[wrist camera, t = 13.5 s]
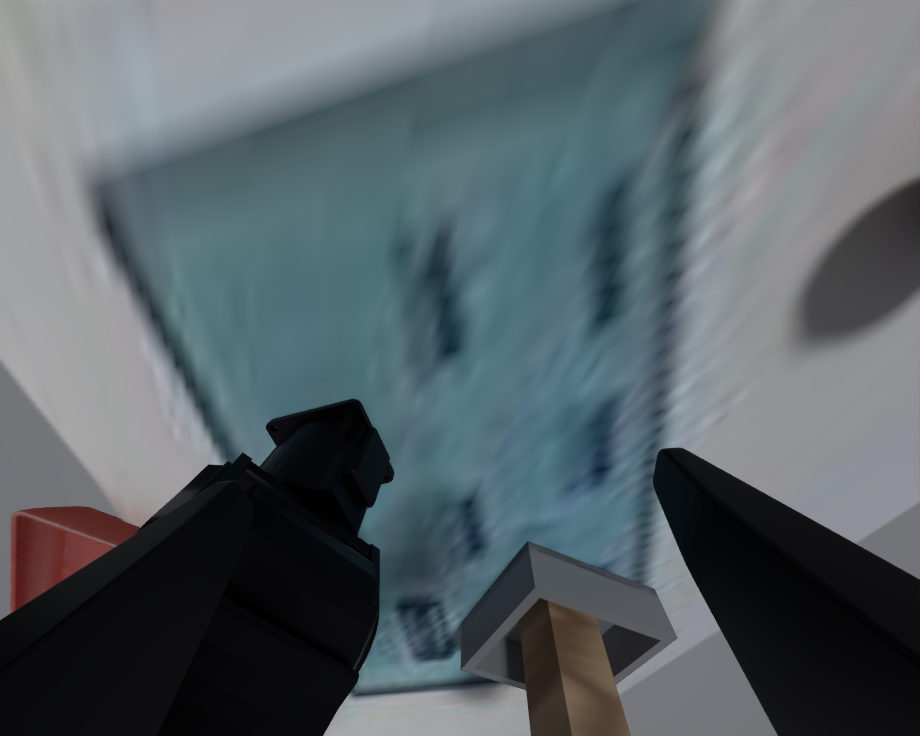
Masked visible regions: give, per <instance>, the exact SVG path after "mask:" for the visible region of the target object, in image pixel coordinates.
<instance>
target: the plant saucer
mask: <svg viewBox="0 0 920 736" xmlns="http://www.w3.org/2000/svg"><path fill="white" fill-rule="evenodd" d="M139 529H140V527H137V526H134V525H132V524H129V523H126V522H124V521H123V519H121V518H118V517H116V516H113V515H110V514H107V513H104V512H102V511H99V510H96V509H93V508H90V507H79V506H78V507H77V506H76V507H45V508H34V509H27V510H21V511H17V512H14V513H13V514H12V515H11V530H10V533H11V534H10V536H11V560H10V562H11V582H10V583H11V587H10V589H11V593H10V595H11V596H10V599H11V601H10V608H11V613H12V612H14V611H15V610H17V609H19V608H20V607H22V606H23V605H25V604H26V603H28V602H30V601H31V600H33V599H34V598H36V597H37V596H39V595H41V594H42V593H44V592H45V591H47V590H48V589H50V588H51V587H53V586H55V585H56V584H58V583H59V582H61V581H62V580H64V579H66V578H67V577H69V576H70V575H72V574H73V573H75V572H77V571H78V570H80V569H81V568H83V567H84V566H86V565H88V564H89V563H91V562H92V561H94V560H95V559H97V558H99V557H100V556H102V555H103V554H105V553H106V552H108V551H110V550H111V549H113V548H114V547H116V546H117V545H119V544H121V543H122V542H124V541H125V540H127V539H128V538H130V537H132V536H133V535H135V534H136V532H137V531H138V530H139Z"/></svg>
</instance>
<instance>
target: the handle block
mask: <svg viewBox="0 0 920 736" xmlns="http://www.w3.org/2000/svg"><path fill="white" fill-rule="evenodd" d="M519 625H520V635H521V644H522V654H523V663H524V673H525V682H526V692H527V701H528V711H529V720H530V730H531V736H631V735H630V732H629V729H628V725H627V722H626V718H625V715H624V711H623V708H622V705H621V701H620V698H619V694H618V691H617V687H616V684H615V681H614V677H613V674H612V670H611V667H610V664H609V660H608V657H607V653H606V650H605V647H604V643H603V640H602V636H601V633H600V630H599V626H598V623H597V619H596V618H595V617H593V616H590V615H587V614H584V613H581V612H578V611H576V610H573V609H570V608H567V607H564V606H561V605H559V604H556V603H553V602H550V601H547V600H544V599H542V598H539V599H538V600H537V602H536V603H535V604H534V605H533V606H532V607H531V608H530V609H529V610H528V611H527V613H526V614H525V615H524V616H523V617H522V618H521V619H520V620H519Z"/></svg>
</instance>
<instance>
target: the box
mask: <svg viewBox="0 0 920 736" xmlns="http://www.w3.org/2000/svg"><path fill="white" fill-rule="evenodd" d="M539 598H542V599H544V600H547V601H550V602H553V603H556V604H559V605H561V606H564V607H567V608H570V609H573V610H576V611H578V612H581V613H584V614H587V615H590V616H593V617H595V618H596V619H597V623H598V626H599V630H600V633H601V636H602V640H603V643H604V647H605V650H606V653H607V657H608V660H609V664H610V667H611V670H612V674H613V677H614V681H615V684H618V683H619V682H620V681H622V680H623V679H624V678H626V677H627V676H628V675H630V674H631V673H632V672H634V671H635V670H636V669H638V668H639V667H640V666H642V665H643V664H644V663H646V662H647V661H648V660H649V659H651V658H652V657H653V656H655V655H656V654H657V653H659V652H660V651H661V650H663V649H664V648H665V647H667V646H668V645H669V644H671V643H672V642H673V641H675V640H676V639H677V636H676V634H675V632H674V629H673V627H672V625H671V623H670V621H669V619H668V617H667V615H666V612H665V610H664V608H663V606H662V604H661V602H660V600H659V598H658V595H657V593H656V591H655V589H653V588H650V587H647V586H645V585H642V584H639V583H637V582H634V581H631V580H629V579H626V578H623V577H621V576H618V575H616V574H613V573H610V572H608V571H605V570H602V569H600V568H597V567H594V566H592V565H589V564H586V563H584V562H581V561H578V560H576V559H573V558H571V557H568V556H565V555H563V554H560V553H557V552H555V551H552V550H549V549H547V548H544V547H541V546H539V545H536V544H533V543H531V542H527V543H526V545H525V546H524V547H523V548H522V549H521V551H520V552H519V553H518V554H517V556H516V557H515V558H514V559H513V561H512V562H511V563H510V564H509V565H508V567H507V568H506V569H505V570H504V572H503V573H502V574H501V575H500V577H499V578H498V579H497V580H496V581H495V583H494V584H493V585H492V586H491V588H490V589H489V590H488V591H487V593H486V594H485V595H484V596H483V597H482V599H481V600H480V601H479V602H478V604H477V605H476V606H475V607H474V608H473V610H472V611H471V612H470V613H469V615H468V616H467V617H466V618H465V620H464V621H463V622H462V643H461V670H462V671H465V672H469V673H472V674H475V675H478V676H482V677H485V678H488V679H491V680H495V681H498V682H501V683H504V684H508V685H511V686H514V687H517V688H521V689H524V690H526V682H525V673H524V663H523V654H522V644H521V635H520V625H519V620H520V619H521V618H522V617H523V616H524V615H525V614H526V613H527V611H528V610H529V609H530V608H531V607H532V606H533V605H534V604H535V603H536V602H537V600H538V599H539Z"/></svg>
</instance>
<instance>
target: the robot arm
mask: <svg viewBox="0 0 920 736" xmlns="http://www.w3.org/2000/svg"><path fill="white" fill-rule="evenodd" d="M351 406H355V407H356V409H352V408H351ZM274 426H276V427H277V428H278V429H277V428H275V427H274ZM266 429H267V431H268V433H269V435H270V436H271V438H272V439H273V441H274V443H275V444H276V448H275V449H274V450H273V451H272V452H271V454H270V455H269V456H268V457H267V458H266V460H265V461H264V462H263V463H262V464H261V466H260V467H259V466H257V465H256V464H254V463H253V462H252V461H251V460H252V459H251V458H250V457H249V456H247V455H246V454H244V453H242V454H241V455H240V456H239V457H238V458H237V459H236V460H235V461H234V462H233V463H231V462H229V461H227V462H226V463H225V464H224V465H208V466H206V467H205V468H204V469H203V470H202V471H201V472H200V473H199V474H198V475H197V476H196V477H195V478H194V479H193V480H192V481H191V482H190V483H189V484H188V485H187V486H186V487H185V488H183V489H182V490H181V491H180V492H179V493H178V494H177V495H176V496H175V497H174V498H172V499H171V500H170V501H169V502H168V503H167V504H166V505H165V506H163V507H162V508H161V509H160V510H159V511H158V512H157V513H156V514H154V515H153V516H152V517H151V518H150V519H149V520H148V521H147V522H146V523H145V524H144V525H143V526H142V527H141V528H140V529H139V530H138V531H137V532H136V534H135V535H133V536H132V537H130V538H128V539H127V540H125V541H124V542H122V543H121V544H119V545H117V546H116V547H114V548H113V549H111V550H110V551H108V552H106V553H105V554H103V555H102V556H100V557H99V558H97V559H95V560H94V561H92V562H91V563H89V564H88V565H86V566H84V567H83V568H81V569H80V570H78V571H77V572H75V573H73V574H72V575H70V576H69V577H67V578H66V579H64V580H62V581H61V582H59V583H58V584H56V585H55V586H53V587H51V588H50V589H48V590H47V591H45V592H44V593H42V594H41V595H39V596H37V597H36V598H34V599H33V600H31V601H30V602H28V603H26V604H25V605H23V606H22V607H20V608H19V609H17V610H15V611H14V612H12V613H11V614H9V615H8V616H6V617H4V618H3V619H1V620H0V736H323V735H324V733H325V731H326V730H327V728H328V726H329V724H330V722H331V721H332V719H333V717H334V715H335V714H336V712H337V710H338V708H339V707H340V706H341V704H342V703H343V701H344V700H345V699H346V697H347V696H348V694H349V693H350V692H351V690H352V689H353V687H354V686H355V685H356V683H357V681H358V678H359V673H358V672H359V670H360V668H361V667H362V665H363V663H364V662H365V660H366V657H367V655H368V653H369V651H370V649H371V646H372V643H373V640H374V638H375V635H376V631H377V626H378V621H379V582H380V549H378V548H377V547H375V546H374V545H373V544H370V545H369V544H368V543H366V542H365V541H363V540H362V539H361V538H359V537H358V536H357V535H358V532H359V529H360V526H361V524H362V521H363V518H364V515H365V513H366V510H367V508H371V507H372V506H373V505H374V503H375V501H376V498H377V495H378V492H379V489H380V486H381V484H384V483H389V482H391V481H392V480H393V477H394V470H393V468H392V466H391V464H390V462H389V460H390V457H389V455H388V453H387V451H386V449H385V446H384V444H383V442H382V440H381V438H380V436H379V434H378V432H377V430H376V428H374V427H373V426H372V424H371V422H370V420H369V418H368V416H367V414H366V412H365V410H364V408H363V406H362V404H361V402H360V401H358V400H356V399H350V400H346V401H342V402H338V403H334V404H330V405H326V406H322V407H318V408H314V409H310V410H307V411H303V412H299V413H295V414H291V415H287V416H283V417H279V418H275V419H272V420H271V421H270V422H269V423H268V424H267V425H266ZM384 474H387V475H389V476H386V475H384ZM653 486H654V489H655V492H656V494H657V497H658V499H659V502H660V504H661V506H662V509H663V511H664V514H665V516H666V518H667V521H668V523H669V526H670V528H671V530H672V533H673V535H674V538H675V540H676V542H677V545H678V547H679V550H680V552H681V554H682V557H683V559H684V561H685V563H686V565H687V567H688V569H689V571H690V573H691V575H692V577H693V579H694V581H695V583H696V585H697V586H698V588H699V590H700V592H701V594H702V596H703V598H704V599H705V601H706V603H707V605H708V607H709V609H710V611H711V612H712V614H713V616H714V618H715V620H716V622H717V624H718V625H719V627H720V629H721V631H722V633H723V635H724V637H725V638H726V640H727V642H728V644H729V646H730V648H731V649H732V651H733V653H734V655H735V657H736V659H737V661H738V662H739V664H740V666H741V668H742V670H743V672H744V674H745V675H746V677H747V679H748V681H749V683H750V685H751V687H752V689H753V690H754V692H755V694H756V696H757V698H758V700H759V702H760V703H761V705H762V707H763V709H764V711H765V713H766V714H767V716H768V718H769V720H770V722H771V724H772V726H773V727H774V729H775V731H776V733H777V735H778V736H920V579H918V578H916V577H914V576H913V575H911V574H909V573H907V572H905V571H904V570H902V569H900V568H898V567H896V566H894V565H893V564H891V563H889V562H887V561H886V560H884V559H882V558H880V557H878V556H877V555H875V554H873V553H871V552H869V551H868V550H866V549H864V548H862V547H860V546H858V545H857V544H855V543H853V542H851V541H850V540H848V539H846V538H844V537H842V536H841V535H839V534H837V533H835V532H833V531H832V530H830V529H828V528H826V527H824V526H823V525H821V524H819V523H817V522H815V521H813V520H812V519H810V518H808V517H806V516H804V515H803V514H801V513H799V512H797V511H795V510H794V509H792V508H790V507H788V506H786V505H785V504H783V503H781V502H779V501H777V500H776V499H774V498H772V497H770V496H768V495H767V494H765V493H763V492H761V491H759V490H758V489H756V488H754V487H752V486H750V485H749V484H747V483H745V482H743V481H741V480H740V479H738V478H736V477H734V476H732V475H731V474H729V473H727V472H725V471H723V470H722V469H720V468H718V467H716V466H714V465H713V464H711V463H709V462H707V461H705V460H704V459H702V458H700V457H698V456H696V455H695V454H693V453H691V452H689V451H687V450H685V449H683V448H666V449H661V450H660V451H659V452H658V455H657V460H656V465H655V470H654V475H653Z"/></svg>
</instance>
